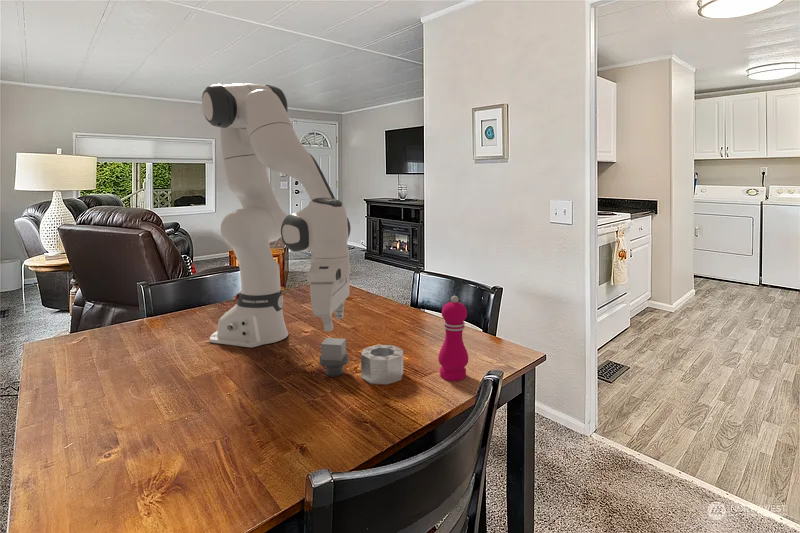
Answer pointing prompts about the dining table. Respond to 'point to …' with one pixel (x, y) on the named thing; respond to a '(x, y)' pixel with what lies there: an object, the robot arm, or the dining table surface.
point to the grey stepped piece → (333, 356)
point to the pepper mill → (453, 342)
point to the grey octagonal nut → (382, 364)
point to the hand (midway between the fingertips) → (334, 324)
